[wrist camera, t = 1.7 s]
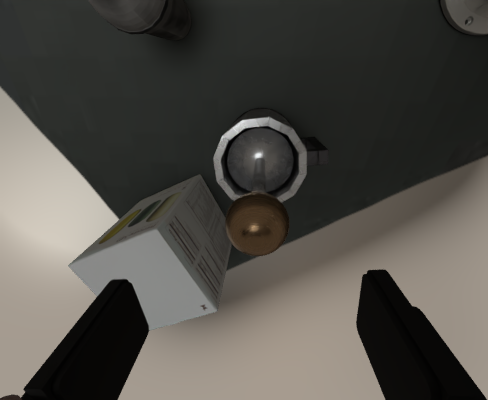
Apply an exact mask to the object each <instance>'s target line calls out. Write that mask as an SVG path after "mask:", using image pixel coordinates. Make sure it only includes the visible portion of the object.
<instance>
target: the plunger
mask: <svg viewBox="0 0 488 400" xmlns="http://www.w3.org/2000/svg"><path fill="white" fill-rule="evenodd" d="M227 163H228V169H229V172H230V174H231V176H232V178H233V179H234V181H235V182H236V183H237V184H238V185H239V186H241V187H242V188H244V189H246V190H248V191H251V192H249V193H246V194H243V195H242V196H240V197H238V198H237V199H236V200H235V201H234V202H233V203H232V204H231V206H230V207H229V209H228V211H227V214H226V218H225V229H226V233H227V236H228V238H229V240H230V242H231V243H232V244H233V246H234V247H235V248H237V249H238V250H239V251H241V252H243V253H245V254H247V255H251V256H263V255H267V254H270V253H272V252H274V251H276V250H277V249H278V248H279V247H280V246H281V245H282V244H283V243H284V241H285V239H286V237H287V235H288V231H289V216H288V213H287V211H286V208H285V207H284V205H283V204H282V203H281V202H280V201H279V200H278V199H277V198H276V197H274V196H273V195H271V194H268V193H266V192H269V191H272V190H275V189H277V188H278V187H280V186H281V185H282V184H283V183H284V182H285V181H286V180H287V179H288V177H289V176H290V174H291V171H292V168H293V153H292V150H291V147H290V145H289V143H288V141H287V140H286V139H285V138H284V137H283V136H282V135H281V134H280V133H278V132H277V131H275V130H272V129H269V128H263V127H258V128H252V129H249V130H247V131H245V132H243V133H242V134H240V135H239V136H238V137H237V138H236V139H235V141H234V142H233V144H232V145H231V147H230V150H229V153H228V159H227Z"/></svg>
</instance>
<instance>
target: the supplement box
mask: <svg viewBox="0 0 488 400" xmlns="http://www.w3.org/2000/svg"><path fill="white" fill-rule="evenodd" d="M231 245H232V243H231V242H230V240H229V238H228V236H227V233H226V229H225V216H224V215H223V213H222V211H221V209H220V208H219V206H218V204H217V202H216V201H215V199H214V197H213V195H212V194H211V192H210V190H209V188H208V187H207V185H206V183H205V181H204V180H203V178H202V176H201V175H200V174H199V175H197V176H194V177H192V178H190V179H188V180H185V181H183V182H181V183H179V184H177V185H174V186H172V187H170V188H168V189H165V190H163V191H161V192H159V193H157V194H154V195H152V196H150V197H148V198H145V199H143V200H141V201H140V202H139V203H137V204H136V205H135V206H134V207H133V208H132V209H131V210H130V211H129V212H128V213H126V214H125V215H124V216H123V217H122V218H121V219H120V220H119V221H118V222H117V223H115V224H114V225H113V226H112V227H111V228H110V229H109V230H108V231H106V232H105V233H104V234H103V235H102V236H101V237H100V238H99V239H98V240H96V241H95V242H94V243H93V244H92V245H91V246H90V247H88V248H87V249H86V250H85V251H84V252H83V253H82V254H81V255H80V256H78V257H77V258H76V259H75V260H74V261H73V262H72V263H70V264H69V265H68V266H69V267H70V268H71V269H72V271H73V272H74V273H75V274H76V275H77V276H78V277H79V278H80V279H81V280H82V281H83V282H84V283H85V284H86V285H87V286H88V287H89V288H90V289H91V290H92V292H94V294H95V295H96V296H98V295H99V294H100V293H101V291H102V290H103V289H104V288H105V286H106V285H107V284H108V283H109V282H110V281H111V280H113V279H127V280H128V281H129V282H131V283H132V285H133V287H134V290H135V292H136V295H137V297H138V300H139V302H140V305H141V307H142V310H143V312H144V315H145V317H146V320H147V322H148V325H149V331H150V330H153V329H157V328H160V327H164V326H168V325H174V324H176V323H179V322H181V321H185V320H188V319H192V318H196V317H200V316H203V315H207V314H210V313H214V312H217V311H218V306H219V301H220V297H221V292H222V287H223V282H224V278H225V273H226V268H227V264H228V259H229V255H230V250H231Z"/></svg>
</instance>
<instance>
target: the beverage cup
mask: <svg viewBox="0 0 488 400" xmlns="http://www.w3.org/2000/svg"><path fill="white" fill-rule="evenodd" d="M88 1H89V2H90V3H91V5H92V6H93V7H94V8H95V10H96V11H97V12H98V13H99V14H100V15H101V16H102V17H103V18H105V19H106V20H107V21H108V22H109V23H110V24H112V25H113V26H114V27H116V28H117V29H118V30H120V31H123V32H126V33H129V34H144V33H146V34H150V35H154V36H157V37H161V38H165V39H169V40H181V39H183V38H184V37H185V36H186V35H187V34H188V32H189V30H190V27H191V15H190V12H189V9H188V8H187V5H186V3H185V2H184V0H88Z"/></svg>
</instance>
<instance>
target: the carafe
mask: <svg viewBox="0 0 488 400" xmlns="http://www.w3.org/2000/svg"><path fill="white" fill-rule="evenodd" d="M258 127H263V128H269V129H272V130H275V131H277V132H278V133H280V134H281V135H282V136H283V137H284V138H285V139H286V140H287V141H288V143H289V145H290V147H291V150H292V153H293V168H292V171H291V174H290V176H289V177H288V179H287V180H286V181H285V182H284V183H283V184H282V185H281V186H280V187H278V188H277V189H275V190H272V191H269V192H266V193H268V194H271V195H273V196H274V197H276V198H277V199H278V200H279V201H280V202H281V203H282V202H283V201H285V200H287V199H288V198H290V197H292V196H294V195H295V193H296V192H297V190H298V188H299V187H300V185H301V183H302V182H303V180H304V178H305V177H306V174H307V166H311V165H323V164H328V153H329V150H328V149H327V148H326V147H325V146H324V145H323V144H322V143H320V142H319V141H318V140H317V139H316V138H315V137H308V138H299V137H298V136H297V134H296V132H295V131H294V129H293V128H292V126H291V124H290V123H289V121H288V120H287V119H286V118H285V117H284V116H283V115H282V114H280V113H279V112H277V111H274V110H272V109H268V108H256V109H252V110H249V111H247V112H245V113H244V114H242V115H241V116H240V117H238V118H237V120H236V121H235V122H234V123H233V124H232V125H231V127H230V128H229V129H228V130H227V131H226V132H225V133H224V134H223V135H222V137H221V140H220V142H219V145H218V147H217V150H216V153H215V155H214V158H213V161H214V167H215V173H216V179H217V182H218V183H219V185H220V186H221V187H222V188H223V190H224V191H225V192H226V193H227V195H228V196H229V197H230V198H232V200H234V201H235V200H236V199H237V198H238V197H240V196H242V195H243V194H246V193H249V192H251V191H248V190H246V189H244V188H242V187H241V186H239V185H238V184H237V183H236V182H235V181H234V179H233V178H232V176H231V174H230V172H229V169H228V163H227V159H228V153H229V150H230V147H231V145H232V144H233V142H234V141H235V139H236V138H237V137H238V136H239V135H240V134H242V133H243V132H245V131H247V130H249V129H252V128H258Z"/></svg>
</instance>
